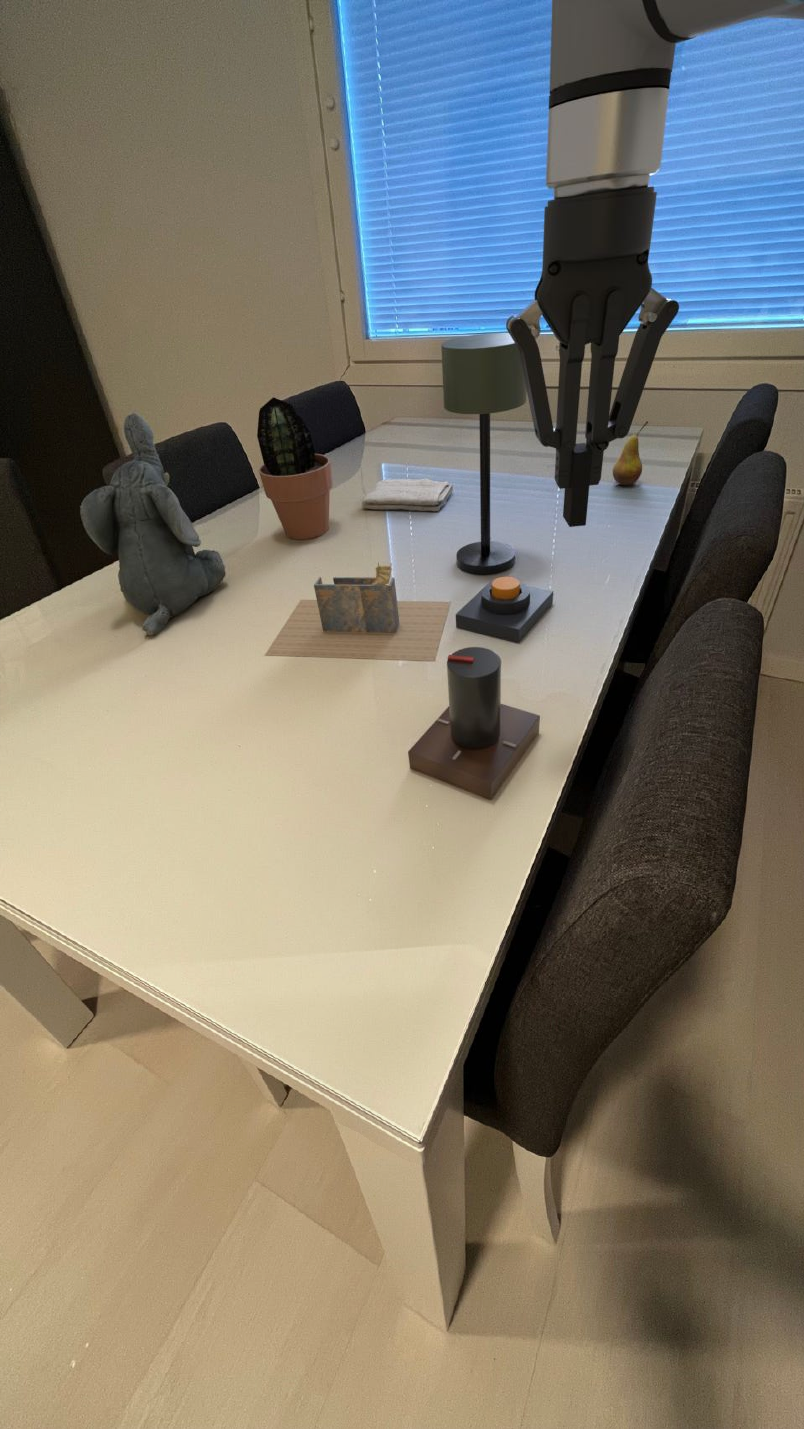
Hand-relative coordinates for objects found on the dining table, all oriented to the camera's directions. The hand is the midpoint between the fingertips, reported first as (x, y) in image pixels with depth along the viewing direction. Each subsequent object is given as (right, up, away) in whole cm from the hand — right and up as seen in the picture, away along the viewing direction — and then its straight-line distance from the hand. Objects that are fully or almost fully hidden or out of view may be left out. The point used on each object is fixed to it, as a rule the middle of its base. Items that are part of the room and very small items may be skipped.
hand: (574, 520), depth 56 cm
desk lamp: (-2, +8, +48) cm, 49 cm away
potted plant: (-35, +19, +66) cm, 78 cm away
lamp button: (-1, -1, +31) cm, 31 cm away
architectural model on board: (-22, -5, +35) cm, 42 cm away
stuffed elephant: (-55, +2, +48) cm, 73 cm away
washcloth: (-15, +28, +74) cm, 80 cm away
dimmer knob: (-8, -20, +10) cm, 24 cm away
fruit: (+31, +30, +70) cm, 82 cm away
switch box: (-1, -3, +33) cm, 33 cm away
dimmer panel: (-8, -22, +11) cm, 26 cm away
